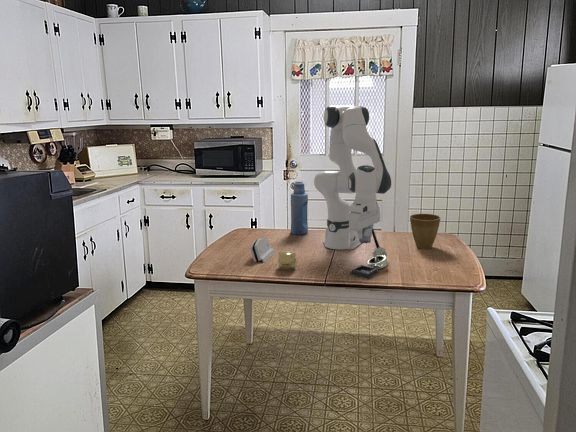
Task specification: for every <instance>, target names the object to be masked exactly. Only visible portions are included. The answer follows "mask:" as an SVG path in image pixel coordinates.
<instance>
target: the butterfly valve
mask: <svg viewBox="0 0 576 432" xmlns="http://www.w3.org/2000/svg"><path fill="white" fill-rule="evenodd" d="M375 232H376V231H375V229H374V228H373V229H372V237H373V241H374V243H375V248H374V249H373V250H372V252H371V254H372V258H370V259H368V260H367V261H366V263H367V266H369V267H373V268H377V271H379V270H380V269H383V268H385V267H386V266H387V265H388V264H389V263H388V262H389V261H388V259H387V257H388V254H387V251H386V248H384V247H382V246H380V243H379V241H378V238H377V235H376V233H375Z"/></svg>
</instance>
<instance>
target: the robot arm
mask: <svg viewBox="0 0 576 432" xmlns="http://www.w3.org/2000/svg"><path fill="white" fill-rule="evenodd" d="M369 122H370V112H369V109H368V108H366V107H364V106H361V105H360V106H356V105H349V104H346V105H329V106H327V107H326V108H325V109H324V112H323V123H324V125H325V127H327V128H329V129H330V128H331V129H330V134H329V135H330V136H329V147H328V148H329V149H328V158H329V161H331V162H332V163H333V164H335V165H337V166H338V167H339V170H324V171H318V172H317V173H316V175H315V176H314V178H313V179H314V180H313V184H314V187H315V189H316V190H317V191H318V192H319V193H320V194H321V195H322V197H323V198H324V199H325V202H326V206H327V218H326V219H327V221H326V226H327V227H326V228H325V232H324V233H325V234H324V236H325V237H324V240H323V242H322V243H323V244H324V247H325V248H327V249H331V250H354V249H356V248H357V247H358V246H360V245H361V244H362V243H360V242H359V238H360V239H361V238H363V234H362V229H363V228H365V227H370V228H371V233H372V229H374V225H376V224H377V223H379V222H380V221H381V209H380V206H379V202H377V194H381V195H382V194H383V195H384V194H386V193H387V192H388V191H390V189H391V187H392V179H391V175H390V173H389V170H388V168H387V167H386V166H387V165H386V163H385V161H384V158H383V155H382V152H381V149H380V147H379V145H378V141H377V140H376V139H374V138H373V137H372V136H371V135H370V134H369V133H368V129H367V126H368V125H369ZM352 150H353V151H356V152H360V153H363V154H364V155H367V156H369V158H370V159H371V162H372V165H373V166H372V165H368V164H367V165H366V164H364V165H360V166H357V169H356V167H355V164H354V162H353V156H352V154H353V153H352ZM340 194H350V195H351V194H355V197H354V200H353V202H352V203H351V204H349V203H348V201H347V200H345V199H343V198H341V196H340Z"/></svg>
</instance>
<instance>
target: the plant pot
mask: <svg viewBox="0 0 576 432" xmlns="http://www.w3.org/2000/svg"><path fill="white" fill-rule="evenodd" d="M409 221H410V228H411V233H412V237H413V240H414V243H415V245H416V248H418V249H420V250H421V249H422V250H429V249H431V248H432V247H433V244H435V241H436V238H437V234H438V231H439V227H440V223H441V216H440V215H437V214H432V213H415V214H411V215H410V216H409Z"/></svg>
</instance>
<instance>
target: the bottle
mask: <svg viewBox="0 0 576 432" xmlns="http://www.w3.org/2000/svg"><path fill="white" fill-rule="evenodd" d="M308 203H309V194H308V193H307V192H306V189H305V182H304V181H302V180H295V182H294V183H293V192H291V193H290V233H291V234H292V235H295V236H298V235H299V236H300V235H301V236H302V235H306V234H308V233H309V227H308V226H309V225H308V224H309V223H308Z"/></svg>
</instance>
